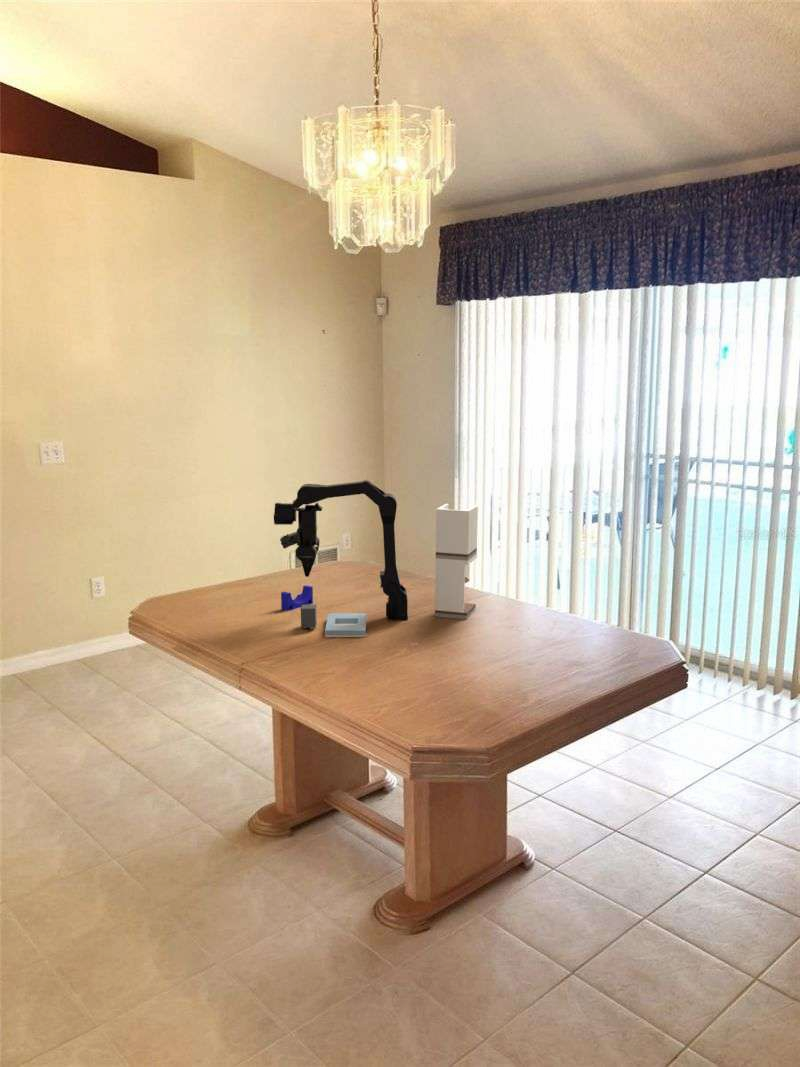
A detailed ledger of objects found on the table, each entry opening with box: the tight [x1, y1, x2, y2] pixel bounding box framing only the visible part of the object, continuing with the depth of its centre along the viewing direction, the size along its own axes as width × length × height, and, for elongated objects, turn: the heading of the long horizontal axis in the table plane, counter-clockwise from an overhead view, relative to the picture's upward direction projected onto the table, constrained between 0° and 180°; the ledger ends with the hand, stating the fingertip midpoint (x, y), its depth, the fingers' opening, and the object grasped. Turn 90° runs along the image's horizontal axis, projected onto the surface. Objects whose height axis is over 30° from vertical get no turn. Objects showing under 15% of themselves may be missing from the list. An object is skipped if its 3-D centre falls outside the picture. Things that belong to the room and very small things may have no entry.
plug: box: [300, 604, 317, 630], centre depth 267 cm, size 4×4×7 cm
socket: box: [324, 612, 367, 638], centre depth 268 cm, size 12×18×2 cm, turn 1°
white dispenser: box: [434, 503, 479, 620], centre depth 281 cm, size 11×11×35 cm
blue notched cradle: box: [280, 585, 314, 612], centre depth 291 cm, size 12×4×6 cm, turn 143°
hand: (308, 573), depth 276 cm, fingers open, 9 cm apart
